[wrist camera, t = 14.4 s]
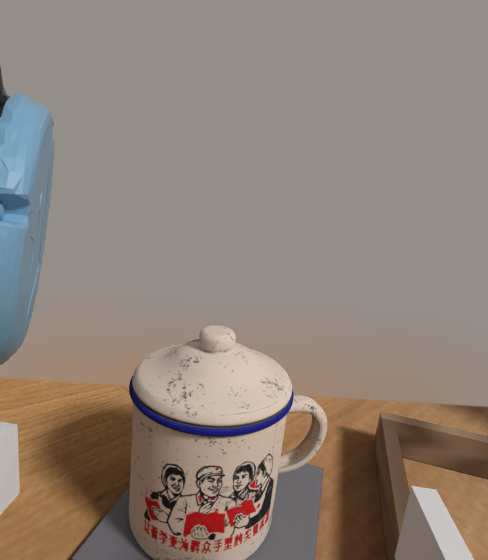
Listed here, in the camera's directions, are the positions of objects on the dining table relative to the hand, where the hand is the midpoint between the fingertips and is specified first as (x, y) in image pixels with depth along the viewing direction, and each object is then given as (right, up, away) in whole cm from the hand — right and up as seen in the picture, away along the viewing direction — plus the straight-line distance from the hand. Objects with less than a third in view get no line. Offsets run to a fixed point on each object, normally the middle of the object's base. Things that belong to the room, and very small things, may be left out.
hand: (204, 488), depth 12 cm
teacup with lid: (0, -7, +11) cm, 13 cm away
